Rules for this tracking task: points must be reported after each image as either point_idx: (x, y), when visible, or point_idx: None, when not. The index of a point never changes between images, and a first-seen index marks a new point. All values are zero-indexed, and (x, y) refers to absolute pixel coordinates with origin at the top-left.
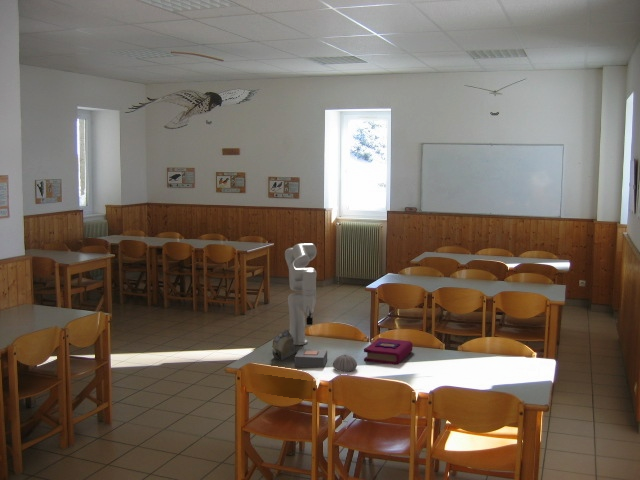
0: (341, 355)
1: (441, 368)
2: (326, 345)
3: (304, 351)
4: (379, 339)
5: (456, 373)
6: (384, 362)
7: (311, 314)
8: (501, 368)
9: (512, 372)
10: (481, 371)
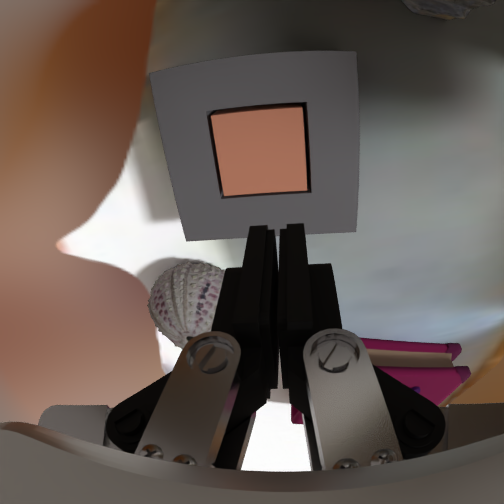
0: (186, 328)
1: (277, 437)
2: None
3: (293, 97)
4: (456, 377)
5: (250, 445)
6: None
7: (214, 464)
8: (291, 465)
9: (273, 469)
10: (270, 458)
